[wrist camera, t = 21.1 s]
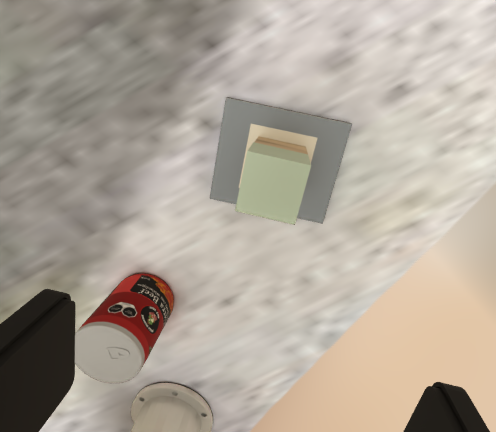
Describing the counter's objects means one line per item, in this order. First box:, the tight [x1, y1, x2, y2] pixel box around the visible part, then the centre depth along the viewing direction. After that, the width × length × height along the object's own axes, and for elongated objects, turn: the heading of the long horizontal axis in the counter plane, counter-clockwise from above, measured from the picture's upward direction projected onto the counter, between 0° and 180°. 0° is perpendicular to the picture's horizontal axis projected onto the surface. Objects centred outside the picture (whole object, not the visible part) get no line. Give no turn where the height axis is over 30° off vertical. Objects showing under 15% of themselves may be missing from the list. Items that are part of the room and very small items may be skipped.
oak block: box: [255, 136, 308, 154], centre depth 34 cm, size 5×5×5 cm
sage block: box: [235, 142, 311, 225], centre depth 29 cm, size 5×5×5 cm
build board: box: [210, 97, 352, 224], centre depth 37 cm, size 11×13×1 cm
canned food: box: [75, 274, 174, 383], centre depth 40 cm, size 8×8×11 cm
